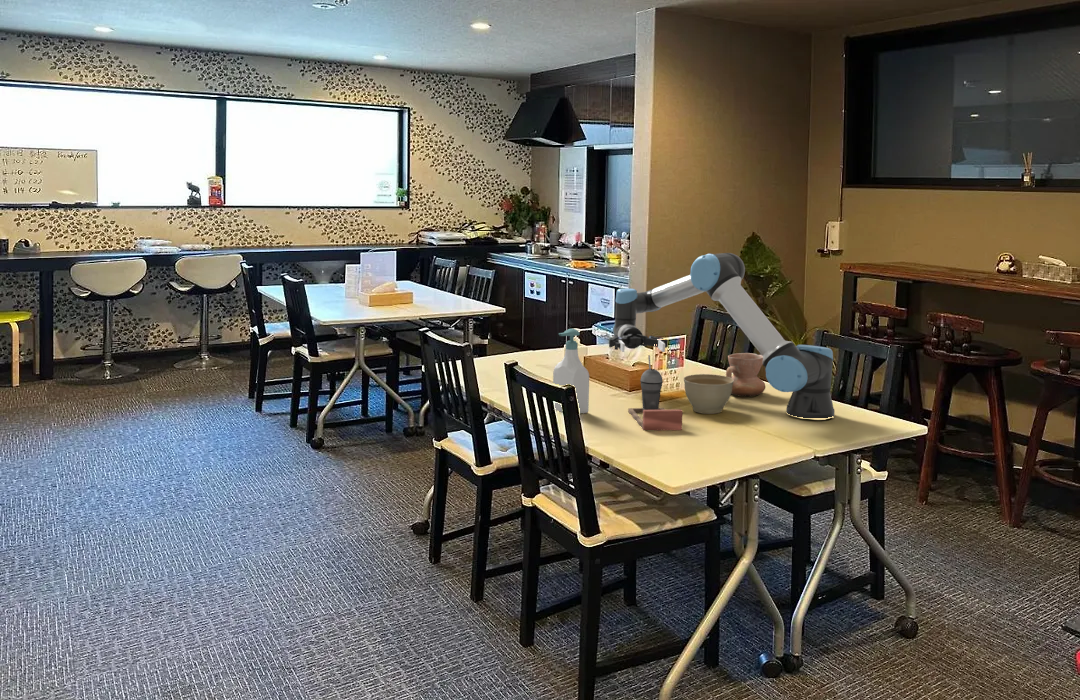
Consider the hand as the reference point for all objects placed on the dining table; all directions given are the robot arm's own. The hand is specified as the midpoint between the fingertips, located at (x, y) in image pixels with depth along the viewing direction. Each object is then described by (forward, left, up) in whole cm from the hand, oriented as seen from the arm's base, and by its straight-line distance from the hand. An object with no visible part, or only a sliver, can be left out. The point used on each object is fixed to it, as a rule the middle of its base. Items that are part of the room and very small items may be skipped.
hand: (643, 347), depth 301 cm
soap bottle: (+11, +23, -21) cm, 33 cm away
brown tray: (-14, +7, -21) cm, 26 cm away
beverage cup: (-9, +5, -21) cm, 23 cm away
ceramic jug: (-4, -45, -21) cm, 50 cm away
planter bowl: (-14, -16, -21) cm, 30 cm away
